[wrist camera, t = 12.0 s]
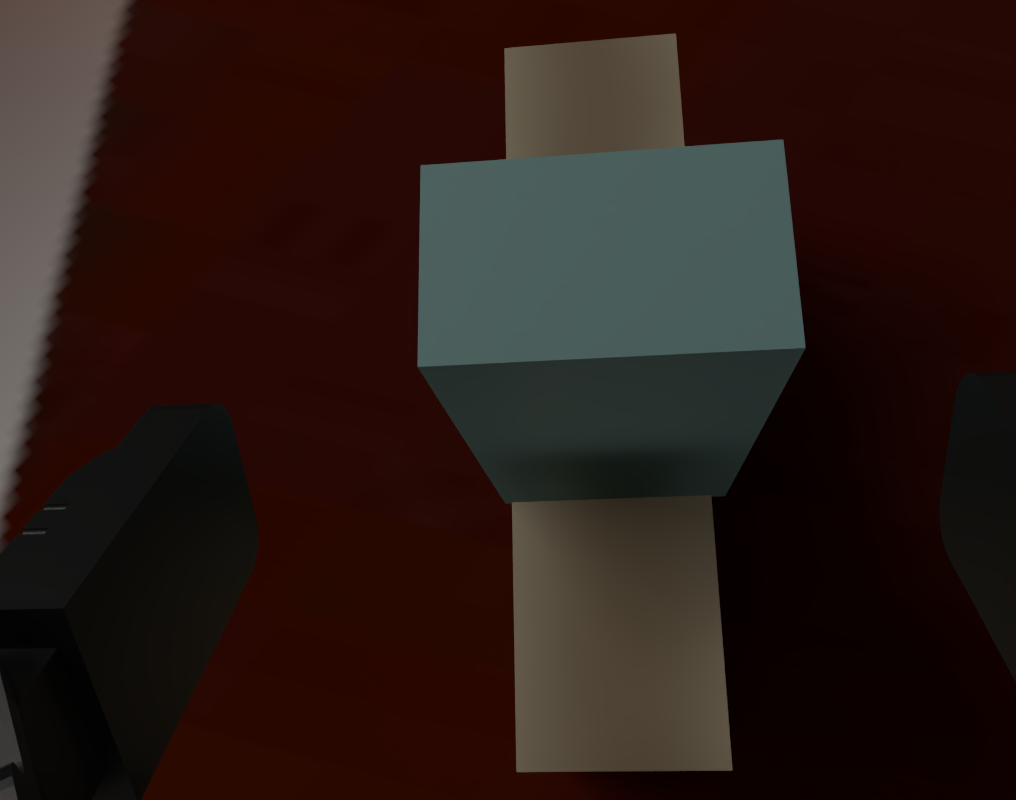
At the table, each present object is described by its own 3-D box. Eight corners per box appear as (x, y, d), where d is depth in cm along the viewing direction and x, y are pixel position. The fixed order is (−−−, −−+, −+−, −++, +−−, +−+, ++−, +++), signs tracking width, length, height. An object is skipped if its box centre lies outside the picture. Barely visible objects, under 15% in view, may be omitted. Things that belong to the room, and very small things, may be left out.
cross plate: (715, 370, 23) (783, 139, 13) (725, 495, 22) (805, 347, 12) (504, 380, 23) (420, 165, 14) (505, 503, 22) (417, 366, 13)
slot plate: (662, 199, 26) (675, 33, 19) (699, 744, 22) (732, 770, 15) (534, 208, 26) (504, 48, 20) (548, 746, 22) (516, 772, 16)
